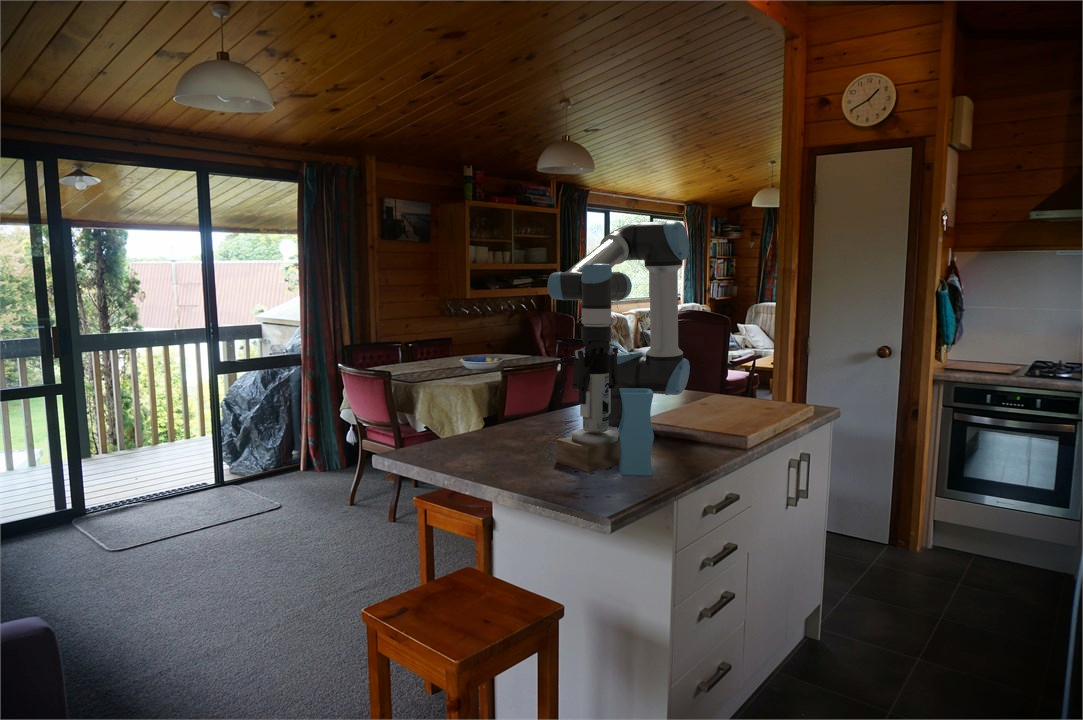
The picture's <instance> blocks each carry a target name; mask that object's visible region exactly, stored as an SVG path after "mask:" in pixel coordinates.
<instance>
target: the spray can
mask: <svg viewBox="0 0 1083 720" xmlns="http://www.w3.org/2000/svg"><path fill="white" fill-rule="evenodd" d="M592 360H593V364H592V365H591V366H590V382H589V385H588V389H587V391H588V392H590V417H588V418H587V417H583V416H582V429H583V430H585V431H587V432H605V431H607V430H609V425H608V423H609V354H608V353H599V354H591V357H589V356H588V355H587V354H585V357H584V366H585V367H588V366H589V365H590V363H591V362H592Z"/></svg>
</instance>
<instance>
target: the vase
mask: <svg viewBox="0 0 1083 720" xmlns="http://www.w3.org/2000/svg"><path fill="white" fill-rule="evenodd" d="M619 390H620V394H621V399H622V408H623V411H622V418H621V422H620V425H619V426H618V428H617V429H618V430H617V433H619V438H620V448H621V453H620V462H619V465H618V471H619V474H620V475H622V476H623V475H624V476H653V475H654V474H653V468H652V458H651V457H652V449H653V444H654V439H655V433H654V431H653V426H652V419H651V416H652V415H651V412H652V411H651V409H652V405H653V404H652V402H653V398H654V396H655V394H654V393H653V391H652V390H651V389H646V388H619Z"/></svg>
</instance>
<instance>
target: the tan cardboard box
mask: <svg viewBox="0 0 1083 720" xmlns="http://www.w3.org/2000/svg"><path fill="white" fill-rule="evenodd" d="M555 442H556V443H555V444H556V449H555V453H556V454H555V455H556V456H555V458H556V459H555V460H556V463H557V464H560V465H564V466H567V467H570V468H574V469H578V470H579V471H583V472H586V473H589V472H594V471H599V470H602V469H607V468H611V467H615V466H619V462H620V453H621V448H620V438H619V432H618V431H615V430H613V429H608V430H607V431H605V432H587V431H585V430H583V428H582V429H577V430H576V429H575V430H574V431H572V432H571V436H568V437H563V438H557V439H556V440H555Z"/></svg>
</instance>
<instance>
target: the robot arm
mask: <svg viewBox="0 0 1083 720" xmlns="http://www.w3.org/2000/svg"><path fill="white" fill-rule="evenodd" d="M689 239H690V238H689V234H688V230H687V229H686V227H685V225H684V224H683V223H682V222H680V221H676V220H670V221H669V220H665V221H664V220H663V221H642V222H641V221H640V222H639V221H638V222H632V223H629V224H628V223H627V224H626V225H622V226H621V227H617V229H614V230H613V231H611V232H609V233H608V234H607V235H606V236H604V237H603V238H602V239H601V241H600V244H599V245H598V246H596V247H595V249H593V250H592V251H591V252H589V253H588V254H586V255H585V256H584V257H583V258H582V259H581V260H579V261H578V262H577V263H575V264H574V265H573V266H571V267H570V268H569V269H568V270H566V271H564V272H562V271H559V272H558V271H557V272H553V273H551V274H550V275H549V277H548V279H547V284H546V285H547V293H548V294H549V296H550V298H551V299H553V300H558V301H559V300H561V301H581V324H582V325H583V326H581V329H580V331H581V334H580V335H581V336H580V337H581V341H582V342H583V343H582V346H581V348H580V349H573V351H572V353H573V371H572V372H573V373H572V374H573V375H572V382H571V386H572V390H575V391H578V404H580V405H579V406H580V407H579V408H580V409H579V412H580V413H579V416H580V417H582V418H583V417H587V418H588V417H590V392H588V391H587V389H588V385H589V382H590V366H591V365H592V364H593V360H592V362H591V363H590V365H589V366H588V367H585V366H584V357H585V354H587V355H588V356H589V357H591V354H599V353H608V354H609V423H608V426H611V427H619V425H620V422H621V418H622V411H623V408H622V399H621V394H620V390H619V388H646V389H651V390H652V391H653V393H654V395H655V394H657V395H665V396H679V395H681V394H682V393H683V392H684V390H685V389H686V387H687V385H688V380H689V377H690V372H691V371H690V368H691V366H690V361H689V360H688V358H684V351H682V349H680V348H679V295H678V294H679V292H678V290H679V287H678V286H679V284H678V283H679V279H678V277H679V275H678V274H679V270H680V269H681V268H682V267H683V264H684V262H683V261H684V260H687V259H688V257H689V255H690V254H689V251H690V240H689ZM627 261H644V267H645V268H646V270H647V271H648V272H649V322H650V323H649V324H650V325H649V326H650V327H649V329H650V338H649V339H650V347H649V349H648V350H647V351H646V352H645V356H644V354H643V352H642V351H631V352H630V351H629V352H623V353H622V352H621V353H619V348H618V347H614V346H611V345H610V342H609V341H611V340H612V327H611V324H612V302H613V301H616V302H619V301H621V300H624V299H627V298H628V297H629V295H630V294H631V291H632V285H633V284H632V281H631V279H630V277H629V276H628V275H627V274H626V273H624V272H620V271H612V268H613V267H615V265H620V264H622V263H624V262H627Z"/></svg>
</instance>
